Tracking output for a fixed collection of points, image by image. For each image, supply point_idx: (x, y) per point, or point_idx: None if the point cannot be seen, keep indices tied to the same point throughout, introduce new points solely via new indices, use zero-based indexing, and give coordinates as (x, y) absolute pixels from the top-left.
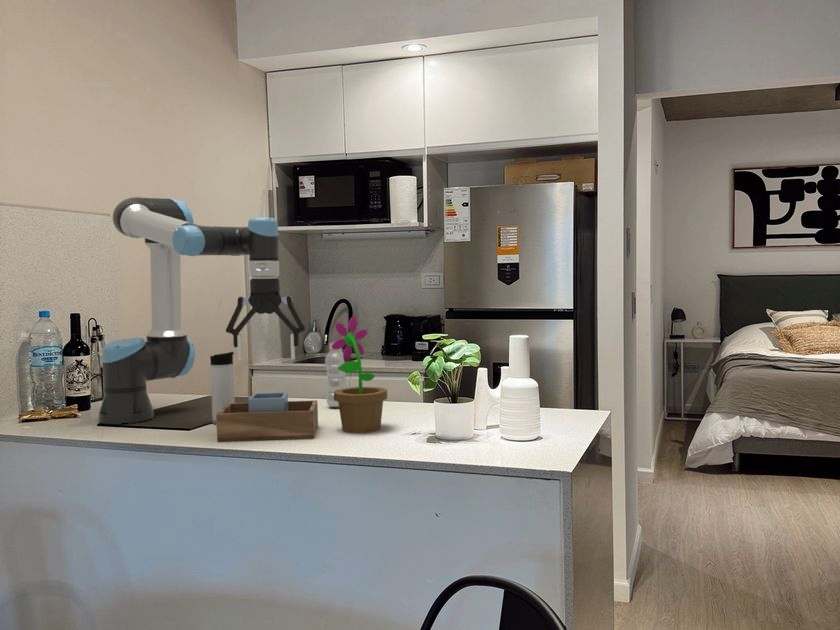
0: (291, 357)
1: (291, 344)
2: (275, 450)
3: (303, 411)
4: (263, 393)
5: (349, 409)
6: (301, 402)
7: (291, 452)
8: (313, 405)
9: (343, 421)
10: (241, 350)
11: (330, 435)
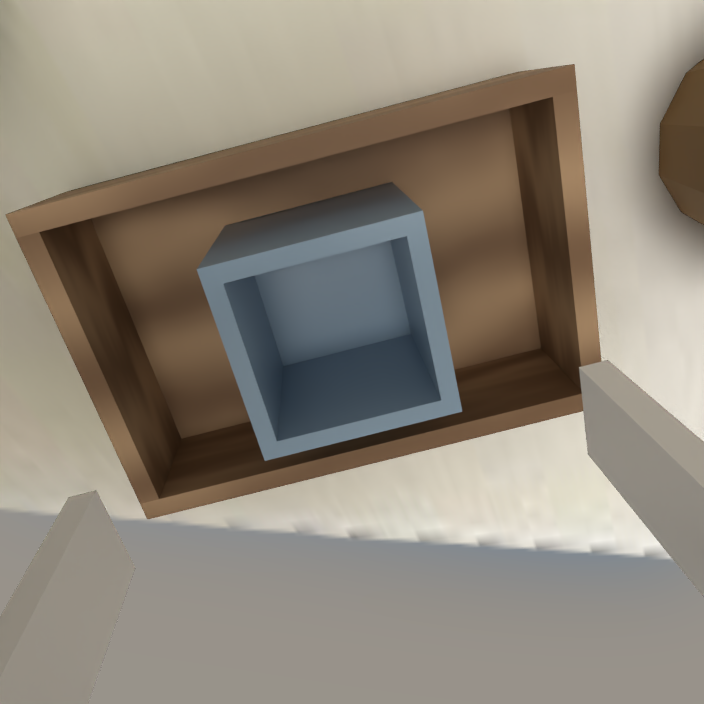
0: (599, 462)
1: (675, 547)
2: (455, 527)
3: (560, 415)
4: (266, 266)
5: None
6: (474, 115)
7: (517, 542)
8: (581, 249)
9: (694, 206)
10: (91, 607)
11: (614, 284)
